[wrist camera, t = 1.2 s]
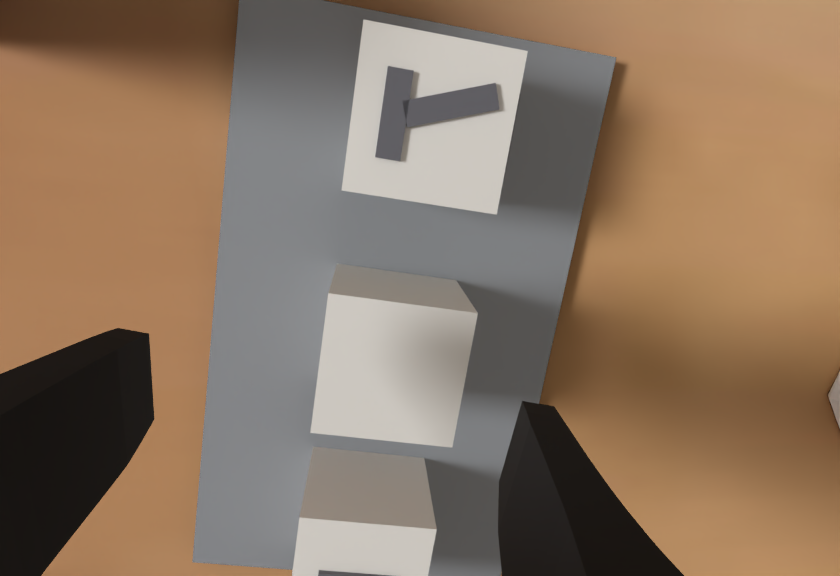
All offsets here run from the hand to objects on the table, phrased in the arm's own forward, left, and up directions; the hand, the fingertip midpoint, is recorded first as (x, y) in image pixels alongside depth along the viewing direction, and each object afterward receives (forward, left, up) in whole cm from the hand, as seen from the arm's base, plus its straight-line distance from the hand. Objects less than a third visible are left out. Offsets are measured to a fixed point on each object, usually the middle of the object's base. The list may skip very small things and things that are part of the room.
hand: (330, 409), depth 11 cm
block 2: (-9, -2, -11) cm, 14 cm away
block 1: (+6, -2, -11) cm, 12 cm away
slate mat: (-2, -2, -11) cm, 11 cm away
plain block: (-2, -2, -11) cm, 11 cm away
